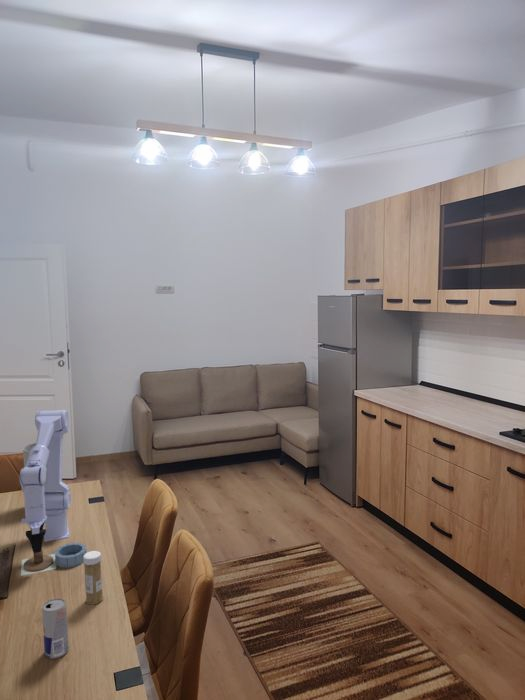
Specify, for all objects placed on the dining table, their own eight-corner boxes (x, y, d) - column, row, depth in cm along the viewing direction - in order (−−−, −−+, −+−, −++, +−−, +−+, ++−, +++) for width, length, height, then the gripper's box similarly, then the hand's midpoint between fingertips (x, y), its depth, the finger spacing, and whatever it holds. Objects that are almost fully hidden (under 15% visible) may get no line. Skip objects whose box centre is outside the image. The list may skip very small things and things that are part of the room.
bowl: (55, 556, 169) (54, 546, 168) (85, 550, 172) (85, 540, 172) (56, 570, 160) (55, 559, 160) (87, 564, 164) (87, 553, 163)
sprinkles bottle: (105, 601, 145) (102, 555, 143) (88, 607, 142) (85, 560, 140) (100, 593, 148) (98, 548, 147) (83, 598, 146) (81, 553, 144)
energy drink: (48, 644, 127) (45, 598, 126) (71, 643, 128) (68, 597, 126) (41, 660, 122) (38, 612, 121) (65, 658, 122) (62, 610, 121)
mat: (22, 560, 166) (21, 559, 166) (55, 554, 170) (55, 553, 170) (20, 576, 157) (20, 575, 157) (56, 569, 161) (56, 568, 161)
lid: (24, 560, 166) (23, 547, 165) (53, 555, 169) (52, 542, 169) (23, 573, 158) (22, 560, 158) (53, 567, 161) (52, 554, 161)
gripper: (21, 497, 166) (24, 538, 168) (19, 515, 153) (22, 559, 155) (45, 494, 169) (48, 534, 171) (45, 511, 156) (48, 555, 157)
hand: (37, 546), depth 163 cm, fingers open, 7 cm apart
